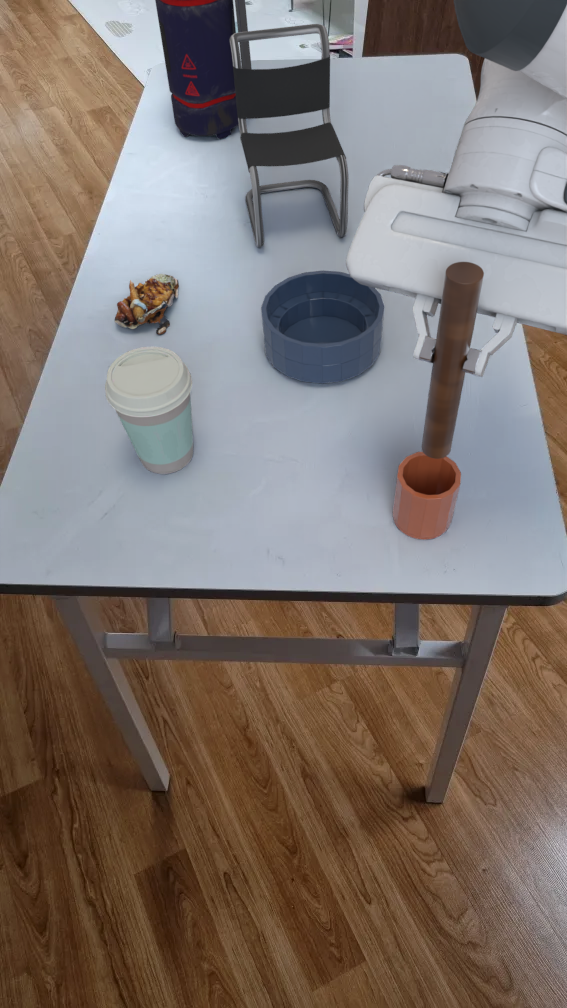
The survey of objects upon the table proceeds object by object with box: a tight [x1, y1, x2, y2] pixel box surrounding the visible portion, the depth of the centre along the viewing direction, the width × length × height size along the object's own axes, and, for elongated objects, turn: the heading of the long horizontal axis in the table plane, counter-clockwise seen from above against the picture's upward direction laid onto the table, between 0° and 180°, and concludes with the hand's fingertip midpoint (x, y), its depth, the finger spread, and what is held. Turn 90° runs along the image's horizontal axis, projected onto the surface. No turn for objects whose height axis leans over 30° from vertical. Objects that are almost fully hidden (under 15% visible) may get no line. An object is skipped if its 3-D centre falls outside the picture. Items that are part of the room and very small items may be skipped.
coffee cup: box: [104, 345, 194, 475], centre depth 74 cm, size 8×8×12 cm
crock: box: [392, 451, 462, 541], centre depth 70 cm, size 6×6×6 cm
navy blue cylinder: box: [154, 0, 253, 140], centre depth 114 cm, size 14×12×30 cm
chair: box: [230, 23, 349, 248], centre depth 98 cm, size 13×17×22 cm
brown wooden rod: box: [420, 262, 484, 459], centre depth 57 cm, size 3×3×18 cm
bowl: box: [260, 269, 385, 384], centre depth 86 cm, size 14×14×6 cm
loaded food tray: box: [114, 272, 180, 336], centre depth 94 cm, size 7×12×4 cm, turn 173°
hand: (447, 367), depth 56 cm, fingers closed on brown wooden rod, 2 cm apart
